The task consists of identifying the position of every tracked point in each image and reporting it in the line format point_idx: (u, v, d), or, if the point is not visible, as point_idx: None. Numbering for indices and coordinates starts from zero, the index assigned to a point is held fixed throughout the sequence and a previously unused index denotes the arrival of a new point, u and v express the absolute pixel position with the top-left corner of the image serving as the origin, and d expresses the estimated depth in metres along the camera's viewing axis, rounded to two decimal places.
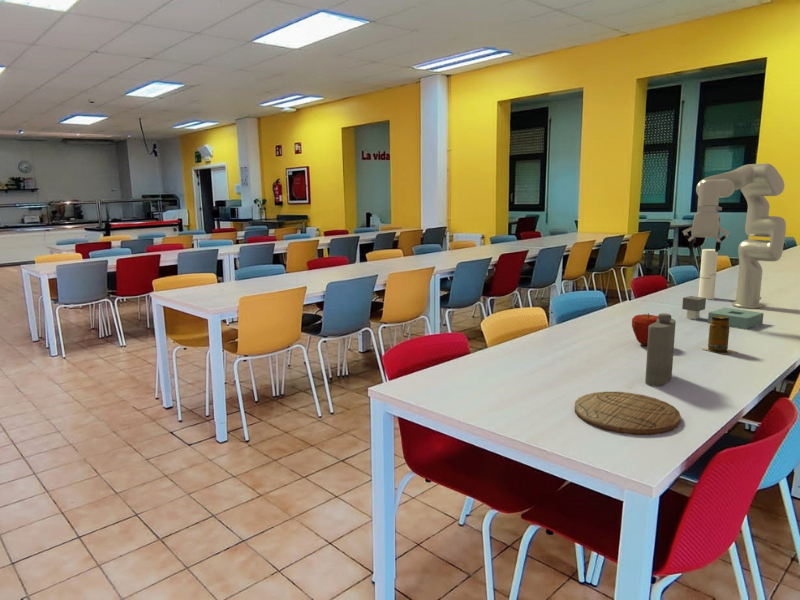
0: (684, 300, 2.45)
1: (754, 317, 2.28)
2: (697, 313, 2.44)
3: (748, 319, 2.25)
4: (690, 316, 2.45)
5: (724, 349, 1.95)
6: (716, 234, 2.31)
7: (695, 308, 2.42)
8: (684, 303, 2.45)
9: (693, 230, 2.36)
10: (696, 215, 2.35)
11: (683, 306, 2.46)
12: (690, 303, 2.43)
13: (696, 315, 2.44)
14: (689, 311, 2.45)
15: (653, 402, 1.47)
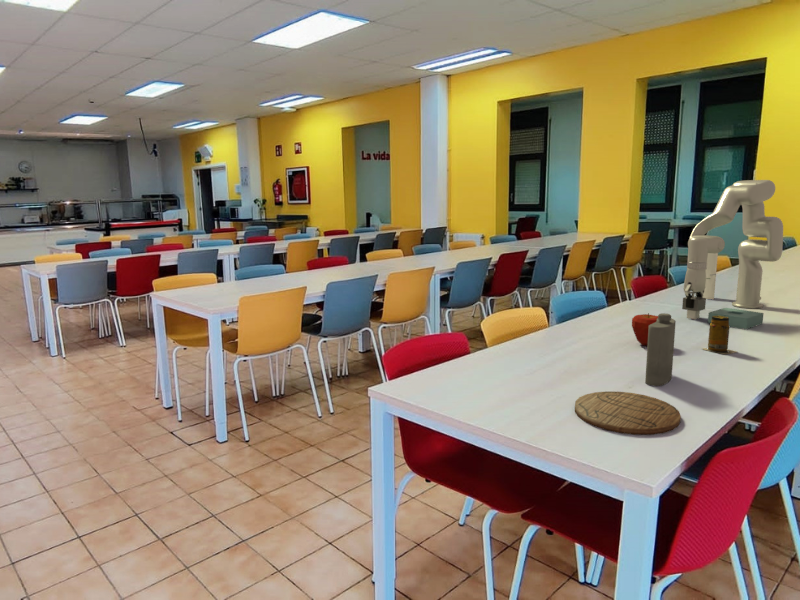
0: (684, 300, 2.45)
1: (754, 317, 2.28)
2: (697, 313, 2.44)
3: (748, 319, 2.25)
4: (690, 316, 2.45)
5: (724, 349, 1.95)
6: (704, 288, 2.45)
7: (695, 308, 2.42)
8: (684, 303, 2.45)
9: (695, 287, 2.39)
10: (697, 272, 2.39)
11: (683, 306, 2.46)
12: None
13: (696, 315, 2.44)
14: (689, 311, 2.45)
15: (653, 402, 1.47)
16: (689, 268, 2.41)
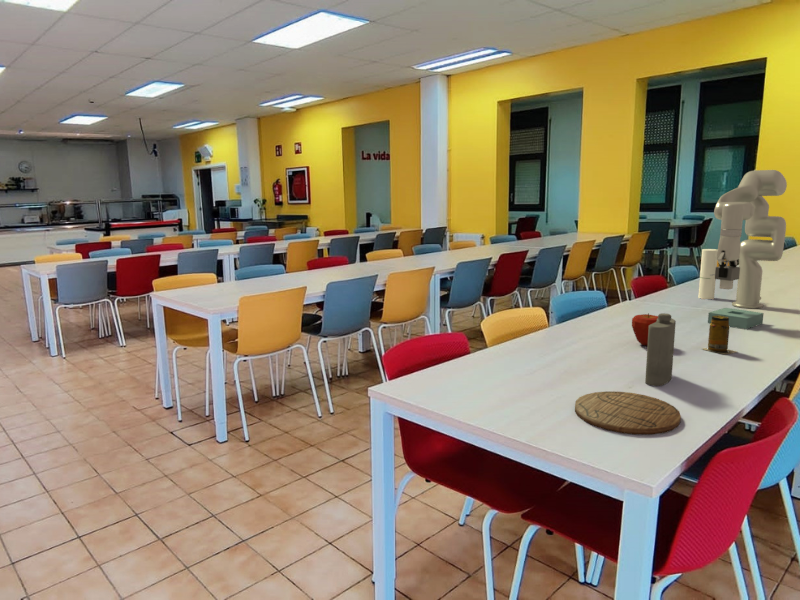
0: (717, 269, 2.34)
1: (754, 317, 2.28)
2: (730, 283, 2.34)
3: (748, 319, 2.25)
4: (723, 286, 2.35)
5: (724, 349, 1.95)
6: (738, 256, 2.34)
7: (728, 278, 2.31)
8: (717, 273, 2.35)
9: (729, 255, 2.29)
10: (731, 239, 2.28)
11: (716, 276, 2.35)
12: None
13: (730, 285, 2.33)
14: (722, 281, 2.35)
15: (653, 402, 1.47)
16: (723, 235, 2.31)
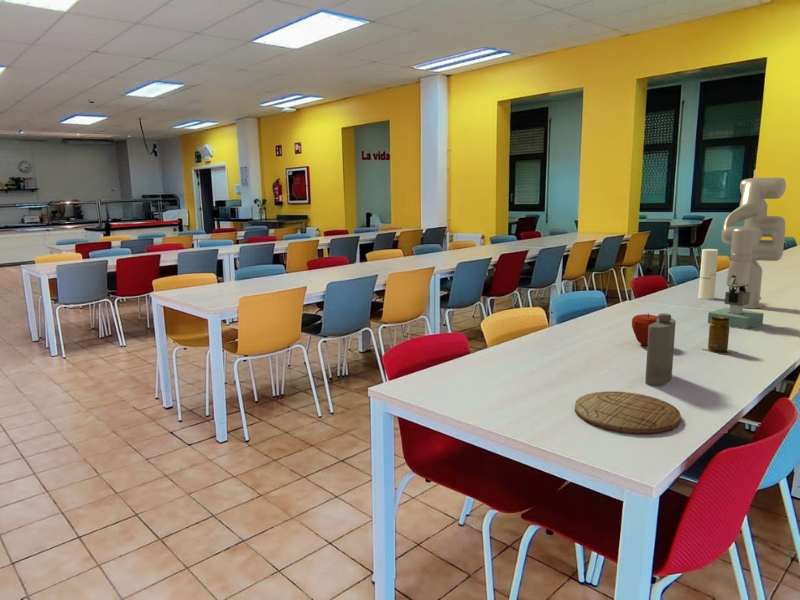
0: (727, 294, 2.33)
1: (754, 317, 2.28)
2: (740, 308, 2.32)
3: (748, 319, 2.25)
4: (733, 311, 2.33)
5: (724, 349, 1.95)
6: (748, 281, 2.33)
7: (739, 303, 2.30)
8: (727, 297, 2.33)
9: (739, 280, 2.28)
10: (741, 265, 2.27)
11: (726, 301, 2.34)
12: None
13: (740, 310, 2.32)
14: (732, 306, 2.33)
15: (653, 402, 1.47)
16: (733, 261, 2.29)
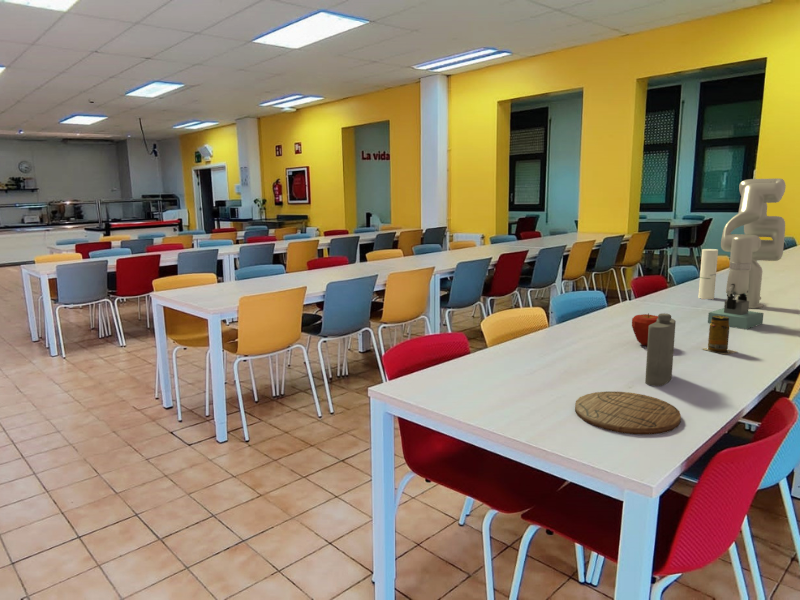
0: (726, 303, 2.34)
1: (754, 317, 2.28)
2: None
3: (748, 319, 2.25)
4: None
5: (724, 349, 1.95)
6: (747, 289, 2.34)
7: (738, 312, 2.31)
8: (726, 306, 2.34)
9: (739, 288, 2.28)
10: (741, 273, 2.27)
11: (725, 309, 2.35)
12: None
13: None
14: None
15: (654, 402, 1.47)
16: (732, 269, 2.30)
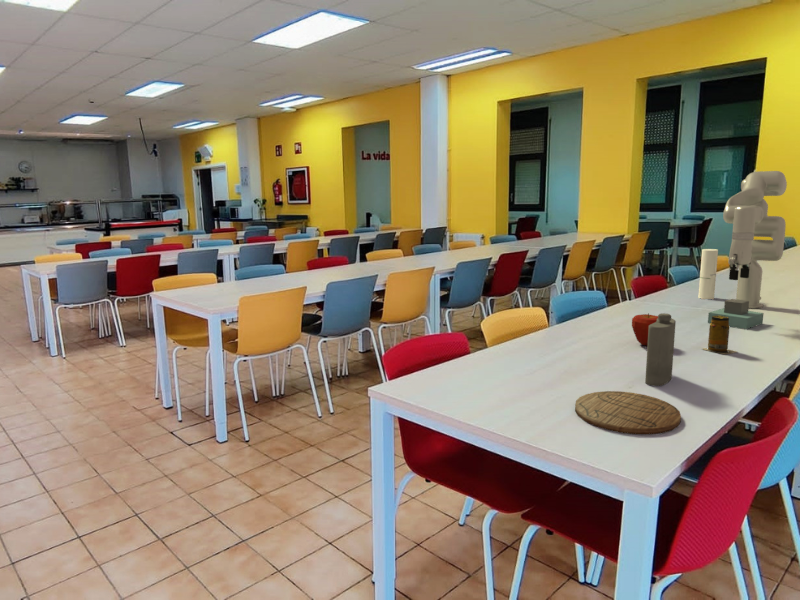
0: (726, 303, 2.34)
1: (754, 317, 2.28)
2: None
3: (748, 319, 2.25)
4: None
5: (724, 349, 1.95)
6: (750, 260, 2.31)
7: (738, 312, 2.31)
8: (726, 306, 2.34)
9: (741, 258, 2.26)
10: (743, 243, 2.25)
11: (725, 309, 2.35)
12: (733, 307, 2.32)
13: None
14: None
15: (654, 402, 1.47)
16: (735, 239, 2.28)
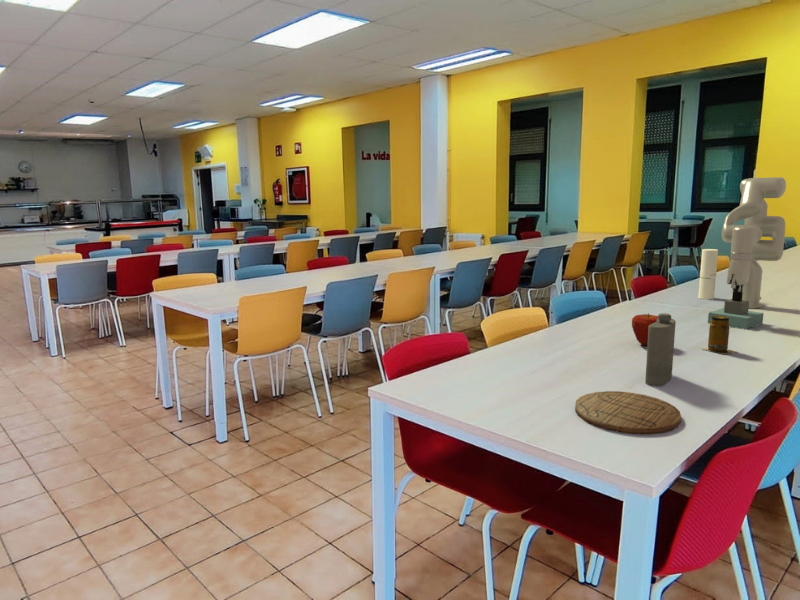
0: (726, 303, 2.34)
1: (754, 317, 2.28)
2: None
3: (748, 319, 2.25)
4: None
5: (724, 349, 1.95)
6: (748, 280, 2.33)
7: (738, 312, 2.31)
8: (726, 306, 2.34)
9: (739, 279, 2.27)
10: (741, 263, 2.27)
11: (725, 309, 2.35)
12: (733, 307, 2.32)
13: None
14: None
15: (654, 402, 1.47)
16: (733, 259, 2.29)
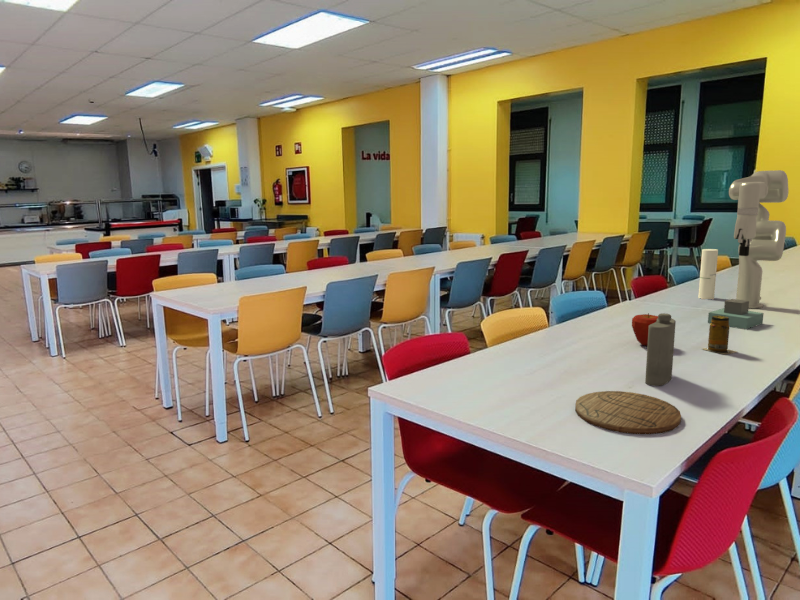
0: (726, 303, 2.34)
1: (754, 317, 2.28)
2: None
3: (748, 319, 2.25)
4: None
5: (724, 349, 1.95)
6: (755, 235, 2.40)
7: (738, 312, 2.31)
8: (726, 306, 2.34)
9: (746, 233, 2.34)
10: (748, 218, 2.34)
11: (725, 309, 2.35)
12: (733, 307, 2.32)
13: None
14: None
15: (654, 402, 1.47)
16: (740, 214, 2.36)
